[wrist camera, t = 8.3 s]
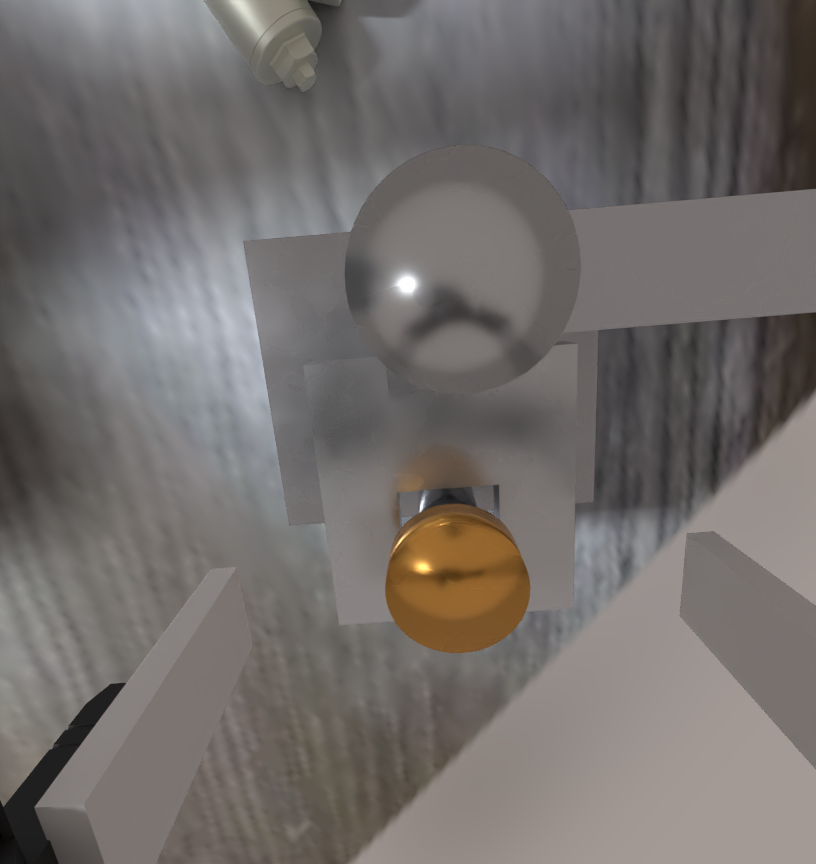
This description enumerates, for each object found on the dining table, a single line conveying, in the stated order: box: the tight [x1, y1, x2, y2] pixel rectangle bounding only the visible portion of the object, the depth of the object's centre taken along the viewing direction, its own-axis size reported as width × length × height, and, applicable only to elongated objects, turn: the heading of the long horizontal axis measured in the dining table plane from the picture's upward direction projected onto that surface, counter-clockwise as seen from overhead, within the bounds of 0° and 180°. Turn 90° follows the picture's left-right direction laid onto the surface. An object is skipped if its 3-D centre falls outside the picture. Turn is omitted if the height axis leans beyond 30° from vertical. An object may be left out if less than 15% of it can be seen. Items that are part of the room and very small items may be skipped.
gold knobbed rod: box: [385, 487, 530, 653], centre depth 18 cm, size 4×4×10 cm
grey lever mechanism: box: [243, 145, 816, 625], centre depth 16 cm, size 23×15×15 cm, turn 95°
